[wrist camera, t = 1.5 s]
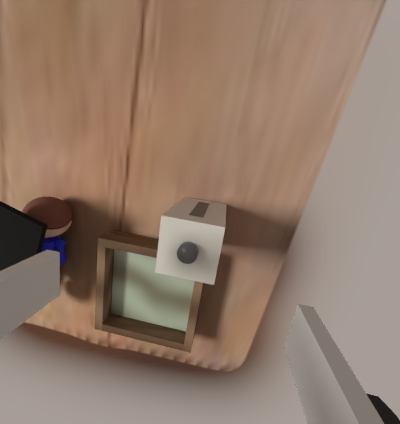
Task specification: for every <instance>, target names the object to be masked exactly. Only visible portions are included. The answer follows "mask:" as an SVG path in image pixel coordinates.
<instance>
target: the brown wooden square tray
mask: <svg viewBox="0 0 400 424" xmlns="http://www.w3.org/2000/svg"><path fill="white" fill-rule="evenodd" d="M158 242H159V239H155V238H150V237H145V236H140V235H135V234H130V233H125V232H120V231H115V230H111V231H109V232H107V233H105V234H104V235H102V236H100V237H98V246H97V277H96V307H95V329H98V330H102V331H106V332H110V333H114V334H118V335H122V336H126V337H130V338H134V339H138V340H142V341H146V342H150V343H154V344H158V345H162V346H166V347H170V348H174V349H178V350H182V351H186V352H190V353H191V348H192V343H193V338H194V333H195V327H196V321H197V316H198V310H199V305H200V299H201V294H202V288H203V283H202V282H197V281H192V280H188V279H183V278H179V277H174V276H169V275H165V274H160V273H155V269H156V260H157V251H158Z"/></svg>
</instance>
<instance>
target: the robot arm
mask: <svg viewBox="0 0 400 424" xmlns="http://www.w3.org/2000/svg"><path fill="white" fill-rule="evenodd" d="M59 295H60V252H57V251H52V250H45V251H43V252H41V253H39V254H36V255H34V256H32V257H30V258H28V259H26V260H23V261H21V262H19V263H17V264H15V265H12V266H10V267H8V268H6V269H4V270H2V271H0V340H1V339H2V338H3V337H5V336H6V335H7V334H9V333H10V332H11V331H13V330H14V329H15V328H17V327H18V326H19V325H21V324H22V323H23V322H24V321H26V320H27V319H28V318H30V317H31V316H32V315H34V314H35V313H36V312H38V311H39V310H40V309H42V308H43V307H44V306H45V305H47V304H48V303H49V302H51V301H52V300H53V299H55V298H56V297H57V296H59ZM284 349H285V352H286V355H287V359H288V362H289V365H290V368H291V372H292V375H293V378H294V381H295V385H296V388H297V391H298V394H299V397H300V401H301V404H302V407H303V410H304V413H305V417H306V420H307V423H308V424H400V420H399V419H398V418H397V416H396V415H395V414H394V413H393V412H392V411H391V409H390V408H389V407H388V406H387V405H386V404H385V403H384V402H383V401H382V400H381V399H380V398H379V397H378V396H374V395H370V394H366V393H365V391H364V389H363V388H362V386H361V385H360V383H359V381H358V380H357V378H356V376H355V375H354V373H353V371H352V370H351V368H350V367H349V365H348V363H347V362H346V360H345V358H344V357H343V355H342V353H341V352H340V350H339V348H338V347H337V345H336V344H335V342H334V341H333V339H332V337H331V335H330V334H329V332H328V330H327V329H326V327H325V325H324V324H323V322H322V321H321V319H320V318H319V316H318V314H317V312H316V311H315V309H314V308H313V307H310V306H305V305H300V304H298V305H297V308H296V311H295V314H294V318H293V321H292V324H291V327H290V331H289V334H288V337H287V340H286V343H285V347H284Z"/></svg>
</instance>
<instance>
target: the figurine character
mask: <svg viewBox="0 0 400 424" xmlns="http://www.w3.org/2000/svg"><path fill="white" fill-rule="evenodd" d="M72 219H73V215H72V211H71V209H70V207H69V206H68V205H67V204H66V203H65V202H63V201H62V200H60V199H57V198H54V197H40V198H36V199H34V200H32V201H30V202H29V203H28V204H27V205H26V206H25V207H24V209H23V211H22V212H21V211H19V210H17V209H15V208H13V207H11V206H9V205H7V204H5V203H3V202H1V201H0V271H2V270H4V269H6V268H8V267H10V266H12V265H15V264H17V263H19V262H21V261H23V260H26V259H28V258H30V257H32V256H34V255H36V254H39V253H41V252H43V251H45V250H52V251H58V252H60V266H61V265H62V264H63V263H64V262H65V261H66V256H65V251H64V247H63V246H64V245H65V240H63V239H59V235H60V234H62V233H64V232H65V231H66V230H67V229H68V228H69V227H70V225H71V223H72Z"/></svg>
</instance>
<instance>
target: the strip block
mask: <svg viewBox="0 0 400 424" xmlns="http://www.w3.org/2000/svg"><path fill="white" fill-rule="evenodd" d="M225 225H226V204H221V203H216V202H210V201H204V200H199V199H193V198H188V197H184V198H183V199H182V200H181V201H179V202H178V203H177V204H175V205H174V206H173V207H172V208H170V209H169V210H168V211H166V212H165V213H164V214H163V215H161V224H160V233H159V242H158V251H157V260H156V269H155V273H160V274H165V275H169V276H174V277H179V278H183V279H188V280H192V281H197V282H202V283H206V284H211V285H214V283H215V278H216V273H217V268H218V263H219V257H220V252H221V247H222V242H223V237H224V232H225Z"/></svg>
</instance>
